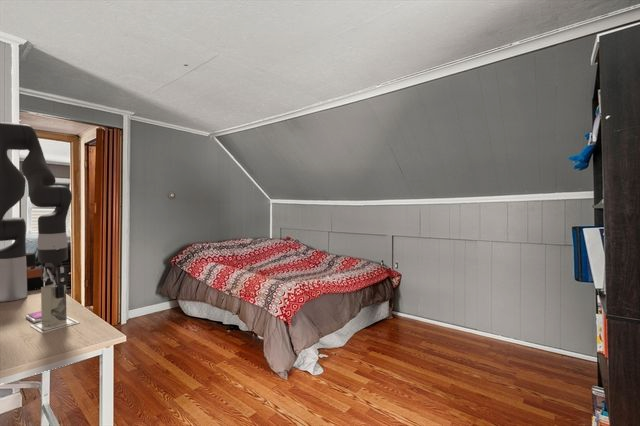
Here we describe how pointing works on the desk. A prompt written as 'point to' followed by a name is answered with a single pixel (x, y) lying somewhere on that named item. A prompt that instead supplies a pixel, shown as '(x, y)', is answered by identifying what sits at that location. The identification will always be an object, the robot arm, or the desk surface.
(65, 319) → the box
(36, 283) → the battery
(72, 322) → the paper
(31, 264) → the deodorant
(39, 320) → the ink pad
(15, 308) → the desk surface
